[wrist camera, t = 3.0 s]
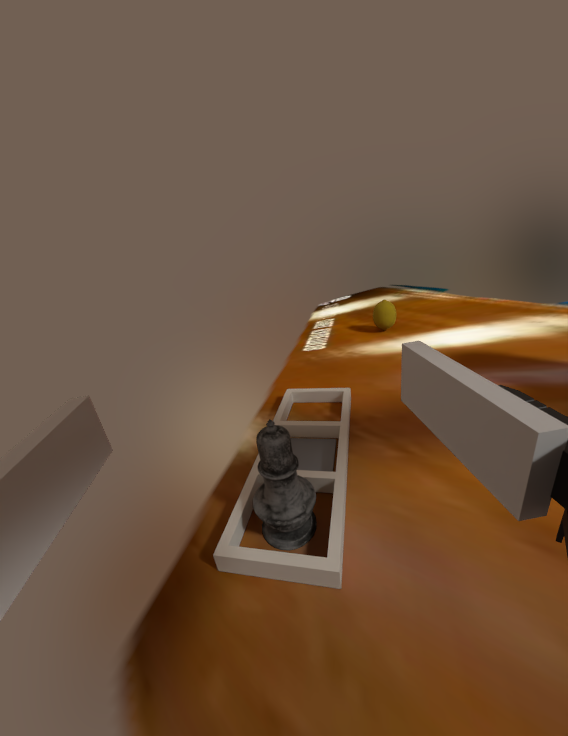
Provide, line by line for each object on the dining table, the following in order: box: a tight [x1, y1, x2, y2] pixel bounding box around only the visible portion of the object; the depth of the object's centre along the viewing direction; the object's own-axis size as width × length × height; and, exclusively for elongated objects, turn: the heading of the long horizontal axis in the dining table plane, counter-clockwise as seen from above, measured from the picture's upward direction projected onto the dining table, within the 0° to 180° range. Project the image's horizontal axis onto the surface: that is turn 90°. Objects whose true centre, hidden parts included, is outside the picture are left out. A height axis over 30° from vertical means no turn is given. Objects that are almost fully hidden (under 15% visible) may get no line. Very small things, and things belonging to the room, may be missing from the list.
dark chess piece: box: [253, 420, 317, 550], centre depth 27 cm, size 6×6×12 cm
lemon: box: [373, 300, 396, 331], centre depth 76 cm, size 6×6×8 cm
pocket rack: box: [213, 388, 351, 589], centre depth 37 cm, size 29×10×2 cm, turn 167°
